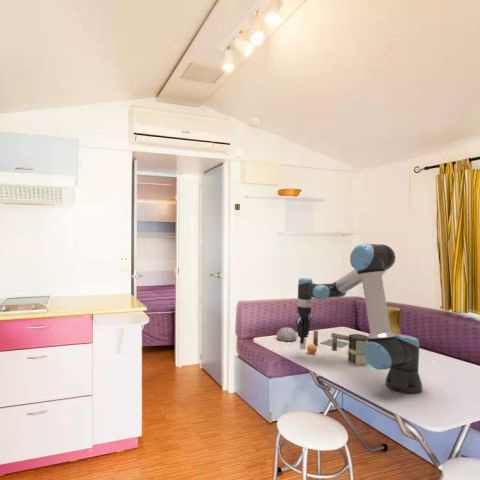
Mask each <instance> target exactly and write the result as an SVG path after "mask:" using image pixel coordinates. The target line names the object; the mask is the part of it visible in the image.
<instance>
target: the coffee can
mask: <svg viewBox="0 0 480 480" xmlns="http://www.w3.org/2000/svg"><path fill="white" fill-rule="evenodd" d="M348 336H349V341H348V343H349V344H348V351H347V356H348V357H347V362H348V364H351V365H353V366H359V367H360V366H361V367H364V366H368V365H369V364H368V362H367V361H366V359H365V356H364V347H365V345H366V344H367V343H368V339H367V337H368V336H369V335H368V336H367V335H364V334H359V333H351V334H349V335H348Z"/></svg>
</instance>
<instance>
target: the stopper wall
mask: <svg viewBox="0 0 480 480" xmlns="http://www.w3.org/2000/svg"><path fill="white" fill-rule="evenodd" d="M333 334H336V335H337V340H338V339H339V340H344V341H347V342H349V335H346V334H345V335H344V334H340V333H335V332H332V333H331V335H330V337H331V338H333Z"/></svg>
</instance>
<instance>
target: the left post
mask: <svg viewBox="0 0 480 480" xmlns="http://www.w3.org/2000/svg"><path fill="white" fill-rule="evenodd" d="M318 341H319V331H318V330H313V340H312V344H314V345H315V346H316V347H318V345H319V344H318Z"/></svg>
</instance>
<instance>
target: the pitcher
mask: <svg viewBox="0 0 480 480" xmlns="http://www.w3.org/2000/svg"><path fill="white" fill-rule="evenodd" d="M387 311H388V317H389V323H390V329H391V332H392V333H393V334H402V332H401V325H402V310H401V309H400V308H399V307H394V306H387Z"/></svg>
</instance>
